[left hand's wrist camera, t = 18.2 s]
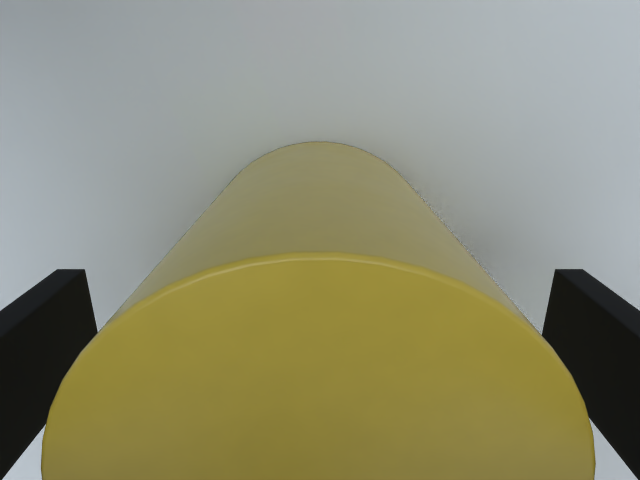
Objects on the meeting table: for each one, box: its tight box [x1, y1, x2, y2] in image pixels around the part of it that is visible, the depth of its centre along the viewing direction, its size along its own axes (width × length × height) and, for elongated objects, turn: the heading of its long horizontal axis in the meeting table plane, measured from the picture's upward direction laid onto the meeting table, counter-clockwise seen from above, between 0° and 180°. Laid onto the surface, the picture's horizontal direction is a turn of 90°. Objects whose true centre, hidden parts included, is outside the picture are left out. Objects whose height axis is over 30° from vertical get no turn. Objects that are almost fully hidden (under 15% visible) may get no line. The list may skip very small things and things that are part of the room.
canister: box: [41, 142, 596, 480], centre depth 12 cm, size 9×9×11 cm
